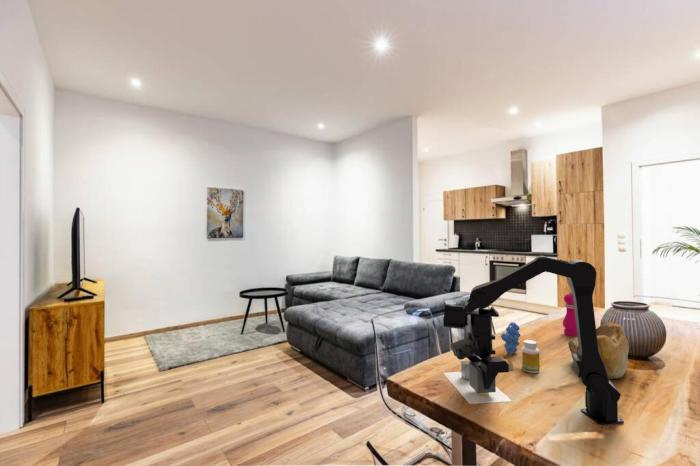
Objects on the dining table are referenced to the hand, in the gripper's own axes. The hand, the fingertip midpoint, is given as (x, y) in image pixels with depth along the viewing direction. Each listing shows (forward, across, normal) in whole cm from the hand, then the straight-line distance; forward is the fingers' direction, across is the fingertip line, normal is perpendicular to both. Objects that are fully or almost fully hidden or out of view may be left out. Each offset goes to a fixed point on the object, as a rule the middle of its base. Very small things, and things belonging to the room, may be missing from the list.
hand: (482, 384), depth 96 cm
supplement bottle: (+4, -16, +25) cm, 30 cm away
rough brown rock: (+4, -15, +48) cm, 50 cm away
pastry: (+4, -18, +16) cm, 24 cm away
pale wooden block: (+2, 0, 0) cm, 2 cm away
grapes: (+4, -32, +27) cm, 42 cm away
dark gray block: (+1, 0, 0) cm, 1 cm away
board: (+4, -5, 0) cm, 6 cm away
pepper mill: (+4, -50, +67) cm, 84 cm away
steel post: (+2, -10, 0) cm, 10 cm away
